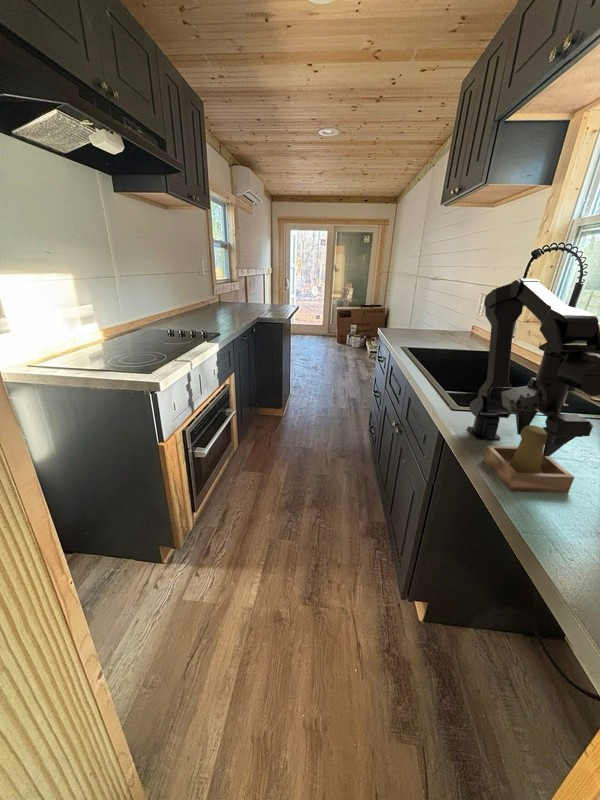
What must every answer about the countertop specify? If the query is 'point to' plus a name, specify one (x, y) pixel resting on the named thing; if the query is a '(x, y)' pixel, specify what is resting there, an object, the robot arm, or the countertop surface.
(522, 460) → the cork
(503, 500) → the countertop surface
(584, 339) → the robot arm
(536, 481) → the box
